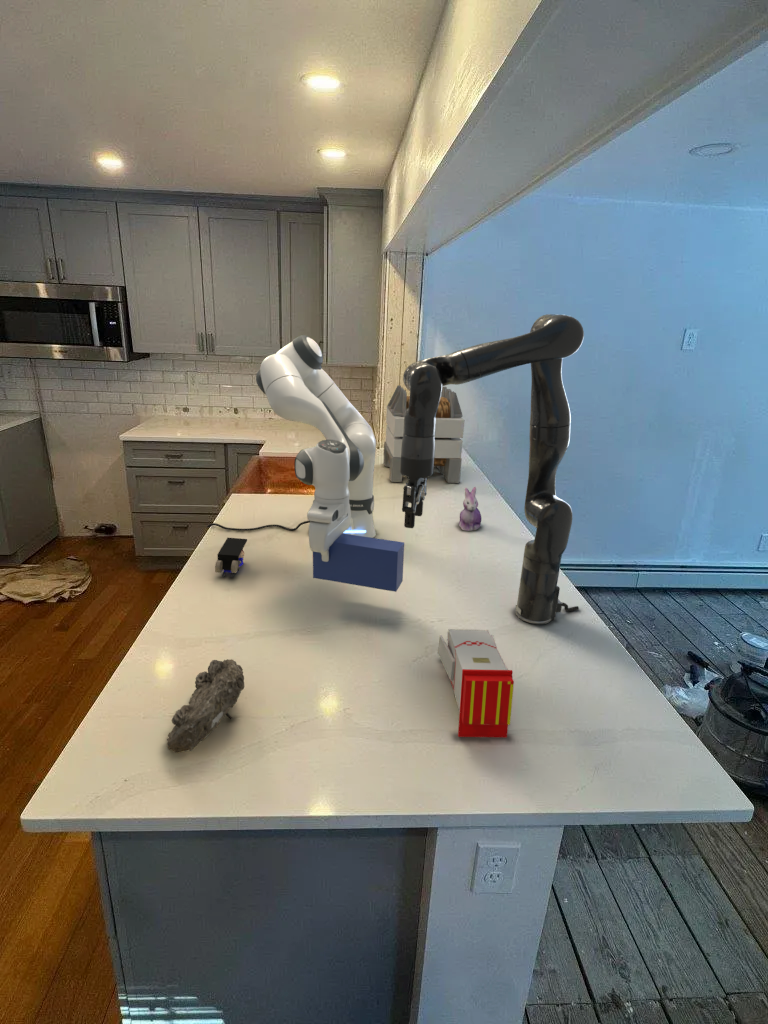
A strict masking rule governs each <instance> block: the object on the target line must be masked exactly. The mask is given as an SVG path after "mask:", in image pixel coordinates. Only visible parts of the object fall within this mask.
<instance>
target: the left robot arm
mask: <svg viewBox="0 0 768 1024" xmlns="http://www.w3.org/2000/svg"><path fill="white" fill-rule="evenodd" d="M323 360H324V354H323V352H322V349H321V347H320V345H319V344H318V343H317V342H316V341H315V340H314V339H313V338H312V337H310V336H308V335H305V334H301V335H299V336H297V337H295V338H293V339H292V341H291V342H289V343H288V344H286V345H285V346H283V347H282V348H280V349H279V350H278V351H276V353H273V354H270V355H268V356H267V357H265V358H264V359H263V360H262V362H261V364H260V368H259V369H258V370H257V372H256V375H255V382H256V385H257V387H258V388H259V390H260V391H261V392H262V394H264V395H265V396H266V399H267V401H268V404H269V406H270V408H271V410H272V411H273V412H274V413H275V414H276V415H277V416H278V417H280V418H282V419H283V420H286V421H290V422H298V423H301V424H304V425H305V424H306V425H309V426H312V427H314V428H316V429H318V430H319V431H320V432H321V433H322V435H323V438H325V439H323V440H320V441H318V442H317V443H316V444H315V446H311V447H307V448H303V449H301V450H299V451H298V453H297V454H296V456H295V457H294V463H293V465H294V474H295V477H296V478H297V479H298V481H300V482H301V483H303V484H304V485H307V486H313V487H314V493H313V500H312V503H311V506H310V508H309V509H308V512H307V513H306V519H307V520H304V521H302V522H300V523H298V525H296V527H294V528H289V527H286V526H284V525H280V524H268V525H261V526H258V527H251V528H249V527H248V528H237V527H236V528H234V527H227V526H223V525H222V524H220V523H219V524H218V523H216V522H212V523H210V524H208V525H207V526H206V528H211V527H213V526H215V527H218V528H221V529H223V530H226V531H233V532H234V531H237V532H247V531H248V532H250V531H251V532H252V531H258V530H262V529H266V528H279V529H282V530H286V531H290V532H295V531H297V530H298V529H300V527H301V526H303V525H306V524H308V545H309V549H310V551H311V552H313V551H314V552H320V553H321V555H322V561H325V562H328V561H329V560H330V554H329V551H328V550H329V547H330V546H331V545H332V544H333V542H334V541H335V540H336V539H337V538H338V537H339V536H340V535H341V534H349V535H356V536H363V537H370V538H376V535H377V532H376V528H375V523H374V513H373V512H374V509H375V496H374V476H375V475H374V474H375V473H374V472H375V463H376V449H377V440H376V437H375V434H374V431H373V428H372V426H371V425H370V423H368V421H367V420H366V419H365V417H363V415H362V414H361V413H360V412H359V410H358V409H357V408H356V407H355V405H353V404H352V403H351V401H350V400H349V399H348V398H347V397H346V396H345V394H344V393H343V391H342V390H341V389H340V388H339V386H338V385H337V384H336V382H335V381H334V380H333V379H332V378H331V376H330V375H329V374H328V373H327V372H326V371H325V370H324V369H323V366H322V365H323V362H324V361H323Z"/></svg>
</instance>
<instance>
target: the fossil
mask: <svg viewBox="0 0 768 1024" xmlns="http://www.w3.org/2000/svg"><path fill="white" fill-rule="evenodd" d="M243 670H244V669H243V667H242V665H240V664H237V662H236V661H235V660H234V659H232V658H231V659H227V658H226V659H224V660H223V661H222V660H217V659H212V660H211V661H210V663H209V665H208V666H207V671H201V672H199V673H198V674H197V675H196V676H195V680H194V684H195V685H194V687H195V689H194V690H193V693H192V694H191V697H190V698H189V700H188V704H184V705H182V706H181V707H180V709H177V710H176V711H175V713H174V715H173V716H172V718H171V723H172V724H173V727H172V730H171V731H170V732H168V734H167V738H166V741H167V742H166V745H167V749H168V750H169V751H173V752H174V753H176V754H178V753H182V752H188V751H189V752H192V751H193V750H195V748H196V747H197V746H199V744H200V743H201V742H203V741H204V740H205V739H206V738H207V737H208V736H209V735H210V734H211V733H212V732H214V730H215V729H217V727H218V726H219V724H220V722H221V721H222V720H223V719H224V718H225V716H226V717H227V719H229V720H233V717H232V715H230V714H229V710H230V709H231V708H234V706H235V704H236V703H237V702H238V699H239V697H240V695H241V693H242V691H243V690H245V689H244V688H245V675H244V671H243Z"/></svg>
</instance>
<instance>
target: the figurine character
mask: <svg viewBox="0 0 768 1024" xmlns="http://www.w3.org/2000/svg"><path fill="white" fill-rule="evenodd" d="M247 542H248V538H240V537H226V539H225V541H224V543H223V544H222V546H221V547H220V549H219V551H218V552H217V560H216V562H215V564H214V572H215V573H221V577H222V578H224V577H225V576H226V574H227V573H230V574H231V573H232V574H231V578H234V577H235V575H236V573H237V572H239V571H240V567H242V566H243V565H244V564H245V562H244V558H245V551H244V547H245V546H246V544H247Z"/></svg>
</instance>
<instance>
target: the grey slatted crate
mask: <svg viewBox="0 0 768 1024" xmlns="http://www.w3.org/2000/svg"><path fill="white" fill-rule="evenodd" d="M407 394H408V393H407V389H404V388H403V387H402V385H399V384H398V385H397V386H396V388H395V390H394V392H393V394H392V395H391V398H390V400H389V402H388V404H387V405H386V413H385V414H386V415H385V423H386V428H385V438H384V442H383V466H384V467H388V468H389V475H388V476H389V477H388V478H389V480H390V482H391V483H402V482H403V475H402V474H401V472H400V464H401V446H402V439H403V429H404V415H405V411H406V410H407V409H408V408H409V399H410V395H407ZM464 429H465V419H464V418H463V411H462V408H461V405H460V402H459V398H458V395H457V392H455V391H453V390H452V389H451V388H447V386H442V392H441V397H440V401H439V405H438V409H437V412H436V424H435V454H434V467H436V468H437V470H438V469H439V473H440V474H441V475H443V478H444V479H445V481H446V482H447V483H449V484H455V483H456V484H459V483H461V472H462V461H463V460H462V453H463V442H464V441H463V440H462V439H463V438H464V431H465V430H464Z"/></svg>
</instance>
